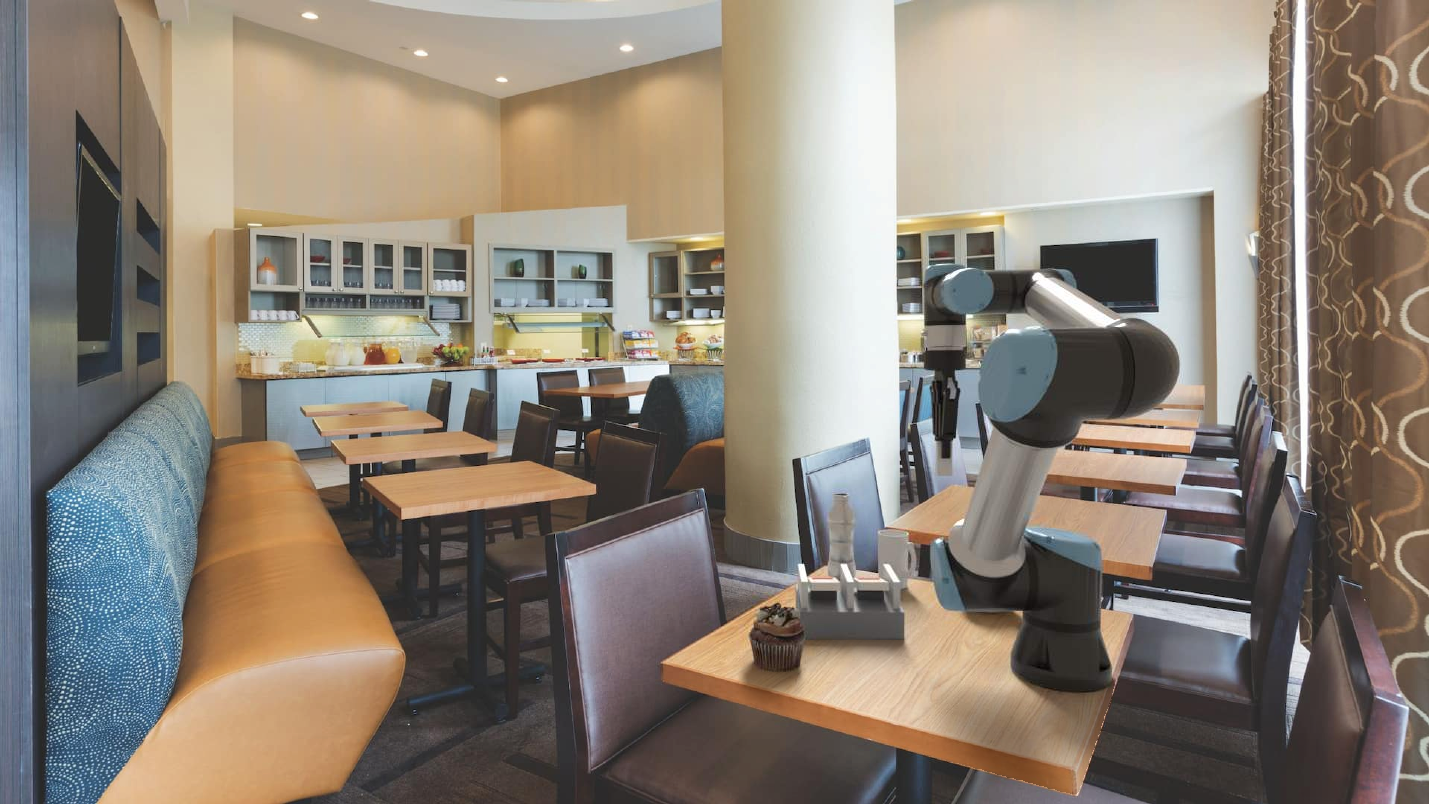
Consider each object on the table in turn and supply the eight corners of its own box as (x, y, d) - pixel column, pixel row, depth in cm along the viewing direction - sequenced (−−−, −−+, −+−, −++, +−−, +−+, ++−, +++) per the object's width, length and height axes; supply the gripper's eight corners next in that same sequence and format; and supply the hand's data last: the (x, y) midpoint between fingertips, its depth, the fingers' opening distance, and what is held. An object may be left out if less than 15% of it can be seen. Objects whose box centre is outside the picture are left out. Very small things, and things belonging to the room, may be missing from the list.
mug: (871, 584, 175) (871, 532, 174) (892, 579, 178) (892, 528, 177) (904, 596, 166) (904, 541, 165) (926, 590, 170) (926, 536, 169)
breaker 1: (840, 590, 145) (840, 581, 145) (811, 590, 145) (810, 581, 145) (835, 585, 155) (835, 576, 155) (807, 585, 155) (807, 576, 155)
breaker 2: (889, 590, 144) (888, 581, 144) (859, 590, 145) (859, 581, 145) (880, 585, 154) (880, 577, 154) (852, 585, 154) (852, 577, 155)
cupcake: (815, 658, 133) (814, 601, 133) (789, 678, 125) (788, 618, 125) (766, 647, 139) (765, 592, 138) (738, 666, 130) (737, 608, 130)
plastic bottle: (835, 586, 174) (834, 498, 172) (822, 577, 180) (822, 492, 179) (861, 583, 175) (861, 496, 174) (847, 575, 182) (847, 491, 181)
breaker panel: (904, 639, 142) (904, 585, 141) (800, 638, 143) (799, 585, 142) (889, 609, 157) (889, 561, 157) (795, 609, 159) (795, 561, 158)
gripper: (916, 349, 150) (916, 470, 152) (932, 349, 137) (931, 481, 139) (955, 349, 150) (954, 469, 151) (975, 348, 137) (974, 480, 138)
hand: (943, 475), depth 145 cm, fingers closed
